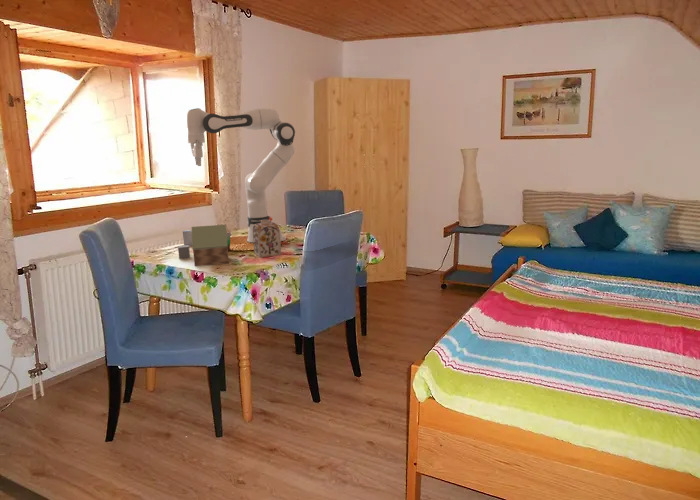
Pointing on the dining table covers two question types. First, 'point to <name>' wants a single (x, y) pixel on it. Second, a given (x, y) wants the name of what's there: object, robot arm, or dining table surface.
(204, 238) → the box lid
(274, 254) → the decorative jar
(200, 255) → the wooden box
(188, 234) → the medicine box
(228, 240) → the food container
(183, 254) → the block
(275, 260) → the dining table surface
